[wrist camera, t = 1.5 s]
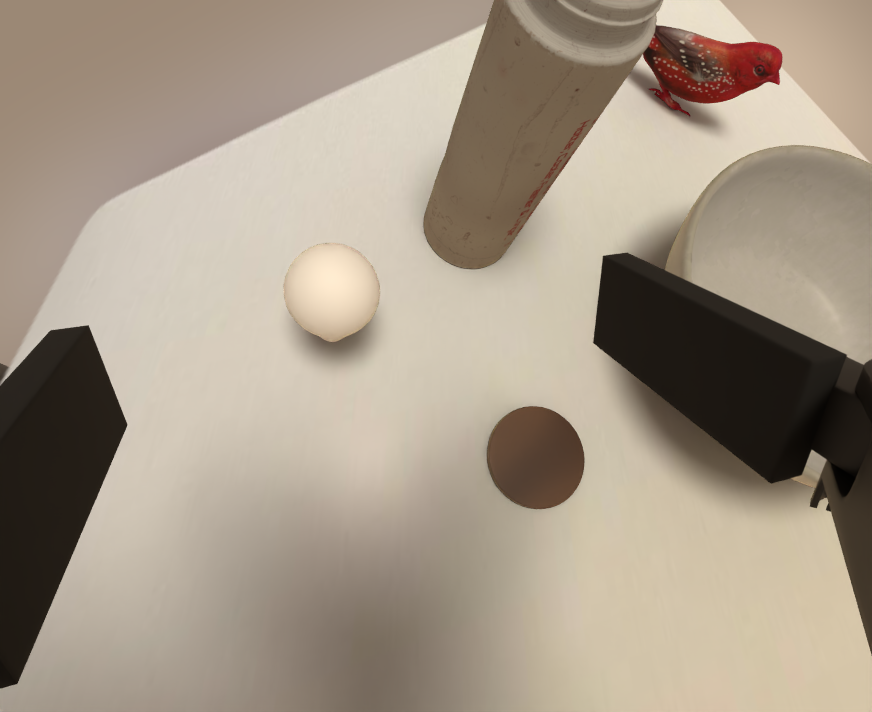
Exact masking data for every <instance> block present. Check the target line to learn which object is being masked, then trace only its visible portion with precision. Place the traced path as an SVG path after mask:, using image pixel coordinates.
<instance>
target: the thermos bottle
mask: <svg viewBox="0 0 872 712" xmlns="http://www.w3.org/2000/svg"><path fill="white" fill-rule="evenodd" d="M662 2H663V0H494V2H493V5H492V8H491V11H490V15H489V18H488V21H487V24H486V27H485V30H484V33H483V36H482V39H481V42H480V45H479V48H478V51H477V55H476V58H475V61H474V64H473V67H472V70H471V73H470V76H469V79H468V82H467V85H466V88H465V91H464V95H463V98H462V101H461V104H460V107H459V110H458V113H457V116H456V119H455V122H454V125H453V129H452V132H451V136H450V139H449V142H448V146H447V150H446V153H445V156H444V159H443V161H442V164H441V166H440V169H439V172H438V175H437V178H436V181H435V184H434V187H433V190H432V193H431V196H430V199H429V202H428V205H427V208H426V212H425V215H424V231H425V235H426V238H427V240H428V242H429V244H430V245H431V247H432V249H433V250H434V251H435V252H436V253H437V254H438V255H439V256H440V257H441V258H443V259H444V260H445V261H447V262H449V263H451V264H453V265H455V266H459V267H462V268H469V269H474V268H482V267H486V266H489V265H491V264H493V263H495V262H496V261H497V260H498V259H500V258H501V257H502V255H503V254H504V253H505V252H506V250H507V249H508V247H509V246H510V245H511V243H512V242H513V240H514V239H515V237H516V236H517V235H518V233H519V232H520V230H521V229H522V227H523V226H524V224H525V223H526V222H527V220H528V219H529V217H530V216H531V214H532V213H533V211H534V210H535V209H536V207H537V206H538V204H539V203H540V201H541V200H542V199H543V197H544V196H545V194H546V193H547V191H548V190H549V188H550V187H551V185H552V184H553V183H554V181H555V180H556V178H557V177H558V175H559V174H560V173H561V171H562V170H563V168H564V167H565V165H566V164H567V162H568V161H569V160H570V158H571V157H572V155H573V154H574V152H575V151H576V150H577V148H578V147H579V145H580V144H581V142H582V141H583V139H584V138H585V137H586V135H587V134H588V132H589V131H590V129H591V128H592V127H593V125H594V124H595V122H596V121H597V119H598V118H599V116H600V115H601V114H602V112H603V111H604V109H605V108H606V106H607V105H608V103H609V102H610V101H611V99H612V98H613V96H614V95H615V93H616V92H617V90H618V89H619V88H620V86H621V85H622V83H623V82H624V80H625V79H626V78H627V76H628V75H629V73H630V72H631V70H632V69H633V67H634V66H635V65H636V63H637V62H638V60H639V59H640V57H641V56H642V54H643V53H644V52H645V50H646V49H647V47H648V46H649V44H650V42H651V40H652V37H653V35H654V33H655V28H656V21H657V19H656V13H657V12H658V11H659V9H660V7H661V5H662Z"/></svg>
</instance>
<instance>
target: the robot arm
mask: <svg viewBox="0 0 872 712" xmlns="http://www.w3.org/2000/svg"><path fill="white" fill-rule="evenodd" d="M593 343H594V344H595V345H597V346H598V347H599V348H600V349H602V350H603V351H604V352H605V353H607V354H608V355H609V356H610V357H612V358H613V359H614V360H615V361H617V362H618V363H619V364H621V365H622V366H623V367H624V368H626V369H627V370H628V371H629V372H631V373H632V374H633V375H634V376H636V377H637V378H638V379H639V380H641V381H642V382H643V383H645V384H646V385H647V386H648V387H650V388H651V389H652V390H653V391H655V392H656V393H657V394H658V395H660V396H661V397H662V398H663V399H665V400H666V401H667V402H669V403H670V404H671V405H672V406H674V407H675V408H676V409H677V410H679V411H680V412H681V413H682V414H684V415H685V416H686V417H688V418H689V419H690V420H691V421H693V422H694V423H695V424H696V425H698V426H699V427H700V428H701V429H703V430H704V431H705V432H706V433H708V434H709V435H710V436H712V437H713V438H714V439H715V440H717V441H718V442H719V443H720V444H722V445H723V446H724V447H725V448H727V449H728V450H729V451H730V452H732V453H733V454H734V455H736V456H737V457H738V458H739V459H741V460H742V461H743V462H744V463H746V464H747V465H748V466H749V467H751V468H752V469H753V470H754V471H756V472H757V473H758V474H760V475H761V476H762V477H763V478H765V479H766V480H767V481H768V482H770V483H775V482H779V481H782V480H786V479H790V478H794V477H797V476H801V475H802V474H803V471H804V468H805V466H806V463H807V460H808V458H809V455H810V452H811V450H813V451H815V452H816V453H818V454H819V455H820V456H822V457H823V458H825V459H826V462H825V465H824V467H823V470H822V472H821V475H820V477H819V480H818V482H817V485H816V488H815V490H814V493H813V495H812V498H811V501H810V507H814V508H817V506H818V503H819V501H820V500H821V499H823V498H827V499H828V502H829V503H828V505H827V508H826V510H827V511H831V513H832V516H833V520H834V523H835V527H836V530H837V534H838V538H839V541H840V545H841V548H842V552H843V555H844V559H845V562H846V566H847V569H848V573H849V576H850V580H851V584H852V587H853V591H854V594H855V598H856V601H857V605H858V608H859V612H860V615H861V619H862V622H863V626H864V629H865V633H866V637H867V640H868V644H869V647H870V651H871V654H872V359H871V360H869V361H867V362H866V363H865V364H864V365H863V364H861V363H859V362H857V361H855V360H853V359H851V358H848V357H847V354H845V353H842V352H840V351H838V350H836V349H834V348H832V347H830V346H827V345H825V344H823V343H821V342H819V341H817V340H814V339H812V338H810V337H808V336H806V335H804V334H801V333H799V332H797V331H795V330H793V329H791V328H788V327H786V326H784V325H782V324H780V323H778V322H776V321H773V320H771V319H769V318H767V317H765V316H763V315H760V314H758V313H756V312H754V311H752V310H750V309H747V308H745V307H743V306H741V305H739V304H737V303H735V302H732V301H730V300H728V299H726V298H724V297H722V296H719V295H717V294H715V293H713V292H711V291H709V290H706V289H704V288H702V287H700V286H698V285H696V284H693V283H691V282H689V281H687V280H685V279H683V278H681V277H678V276H676V275H674V274H672V273H670V272H668V271H665V270H663V269H661V268H659V267H657V266H655V265H652V264H650V263H648V262H646V261H644V260H642V259H640V258H637V257H635V256H633V255H631V254H629V253H621V254H614V255H606V256H603V262H602V271H601V280H600V288H599V297H598V306H597V315H596V324H595V332H594V341H593ZM126 427H127V422H126V420H125V417H124V415H123V412H122V410H121V407H120V405H119V402H118V399H117V397H116V394H115V392H114V389H113V387H112V384H111V382H110V379H109V376H108V374H107V371H106V369H105V366H104V364H103V361H102V359H101V356H100V353H99V351H98V348H97V346H96V343H95V341H94V338H93V336H92V333H91V330H90V328H89V325H88V326H80V327H73V328H65V329H58V330H51V331H50V332H49V333H48V334H47V335H46V336H45V337H44V338H43V339H42V340H41V342H40V343H39V344H38V345H37V346H36V347H35V348H34V349H33V350H32V351H31V353H30V354H29V355H28V356H27V357H26V358H25V359H24V360H23V361H22V362H21V364H20V365H19V366H18V367H17V368H16V369H15V370H14V371H13V372H12V373H11V375H10V376H9V377H8V378H7V379H6V380H5V381H4V382H3V383H2V384H1V386H0V688H4V687H8V686H11V685H15V684H17V683H18V681H19V679H20V676H21V674H22V672H23V669H24V667H25V665H26V662H27V660H28V658H29V655H30V653H31V651H32V648H33V646H34V643H35V641H36V639H37V636H38V634H39V632H40V629H41V627H42V625H43V622H44V620H45V618H46V615H47V613H48V611H49V608H50V606H51V604H52V601H53V599H54V596H55V594H56V592H57V589H58V587H59V585H60V582H61V580H62V578H63V575H64V573H65V571H66V568H67V566H68V564H69V561H70V559H71V557H72V554H73V552H74V549H75V547H76V545H77V542H78V540H79V538H80V535H81V533H82V531H83V528H84V526H85V524H86V521H87V519H88V517H89V514H90V512H91V510H92V507H93V505H94V502H95V500H96V498H97V495H98V493H99V491H100V488H101V486H102V484H103V481H104V479H105V477H106V474H107V472H108V470H109V467H110V465H111V462H112V460H113V458H114V455H115V453H116V451H117V448H118V446H119V444H120V441H121V439H122V437H123V434H124V432H125V430H126Z"/></svg>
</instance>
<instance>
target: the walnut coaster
mask: <svg viewBox="0 0 872 712" xmlns="http://www.w3.org/2000/svg"><path fill="white" fill-rule="evenodd" d="M487 461H488V467H489V470H490V473H491V476H492V478H493V480H494V482H495V484H496V485H497V487H498V488H499V489H500V491H501V492H502V493H503V494H504V495H505V496H506V497H507V498H509V499H510V500H511V501H513V502H515V503H517V504H519V505H521V506H524V507H528V508H534V509H545V508H551V507H554V506H557V505H559V504H561V503H563V502H564V501H565V500H567V499H568V498H569V497H570V496H571V495H572V494H573V493H574V491H575V490H576V489H577V487H578V485H579V483H580V481H581V478H582V475H583V470H584V452H583V447H582V444H581V441H580V439H579V437H578V435H577V433H576V431H575V430H574V428H573V427H572V426H571V424H570V423H569V422H568V421H567V420H566V419H565V418H563V417H562V416H561V415H559V414H558V413H556V412H554V411H552V410H550V409H547V408H543V407H536V406H530V407H523V408H520V409H517V410H515V411H513V412H511V413H509V414H507V415H506V416H505V417H504V418H502V419H501V420H500V421H499V422H498V424H497V425H496V426H495V428H494V430H493V432H492V434H491V436H490V439H489V443H488V448H487Z"/></svg>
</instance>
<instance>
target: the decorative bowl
mask: <svg viewBox="0 0 872 712" xmlns="http://www.w3.org/2000/svg"><path fill="white" fill-rule="evenodd" d="M665 271H668V272H670V273H672V274H674V275H676V276H678V277H681V278H683V279H685V280H687V281H689V282H691V283H693V284H696V285H698V286H700V287H702V288H704V289H706V290H709V291H711V292H713V293H715V294H717V295H719V296H722V297H724V298H726V299H728V300H730V301H732V302H735V303H737V304H739V305H741V306H743V307H745V308H747V309H750V310H752V311H754V312H756V313H758V314H760V315H763V316H765V317H767V318H769V319H771V320H773V321H776V322H778V323H780V324H782V325H784V326H786V327H788V328H791V329H793V330H795V331H797V332H799V333H801V334H804V335H806V336H808V337H810V338H812V339H814V340H817V341H819V342H821V343H823V344H825V345H827V346H830V347H832V348H834V349H836V350H838V351H840V352H842V353H845V354H847V357H848V358H851V359H853V360H855V361H857V362H859V363H861V364H863V365H864V364H865V363H866V362H867V361H869V360H871V359H872V164H870V163H868V162H866V161H863V160H861V159H859V158H856V157H854V156H851V155H848V154H845V153H842V152H839V151H835V150H831V149H826V148H820V147H814V146H804V145H790V146H779V147H773V148H768V149H764V150H760V151H757V152H755V153H752V154H749V155H747V156H745V157H743V158H741V159H739V160H737V161H736V162H734V163H732V164H731V165H729V166H728V167H727V168H726V169H724V170H723V171H722V172H721V173H720V174H719V175H717V176H716V177H715V178H714V179H713V180H712V181H711V183H710V184H709V185H708V186H707V187H706V189H705V190H704V191H703V192H702V194H701V195H700V196H699V198H698V199H697V201H696V202H695V204H694V205H693V207H692V208H691V210H690V211H689V213H688V215H687V217H686V219H685V220H684V222H683V224H682V226H681V228H680V230H679V232H678V234H677V236H676V239H675V241H674V243H673V246H672V248H671V251H670V254H669V257H668V260H667V263H666V267H665ZM825 462H826V459H825V458H823V457H822V456H820V455H819V454H818V453H816V452H815V451H813V450H811V452H810V455H809V458H808V460H807V463H806V466H805V468H804V471H803V474H802V475H801V476H797V477H794V478H790V479H792V480H795V481H797V482H800V483H802V484H805V485H807V486H810V487H813V488H816V485H817V482H818V480H819V477H820V475H821V472H822V470H823V467H824V465H825Z"/></svg>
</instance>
